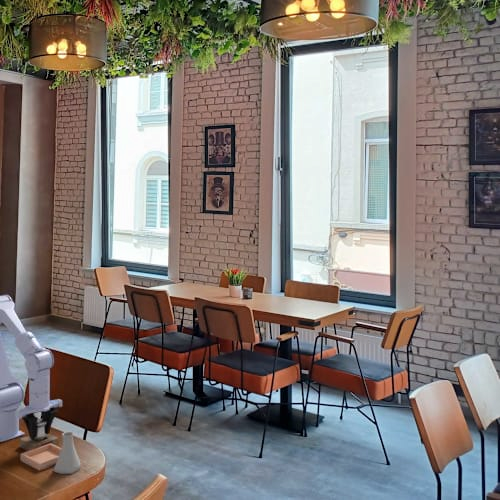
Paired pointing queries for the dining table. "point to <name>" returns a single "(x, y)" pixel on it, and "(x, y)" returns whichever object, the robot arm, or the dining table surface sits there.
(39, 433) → the pin
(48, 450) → the tray
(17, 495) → the dining table surface
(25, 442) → the brown square frame
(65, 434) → the flask
